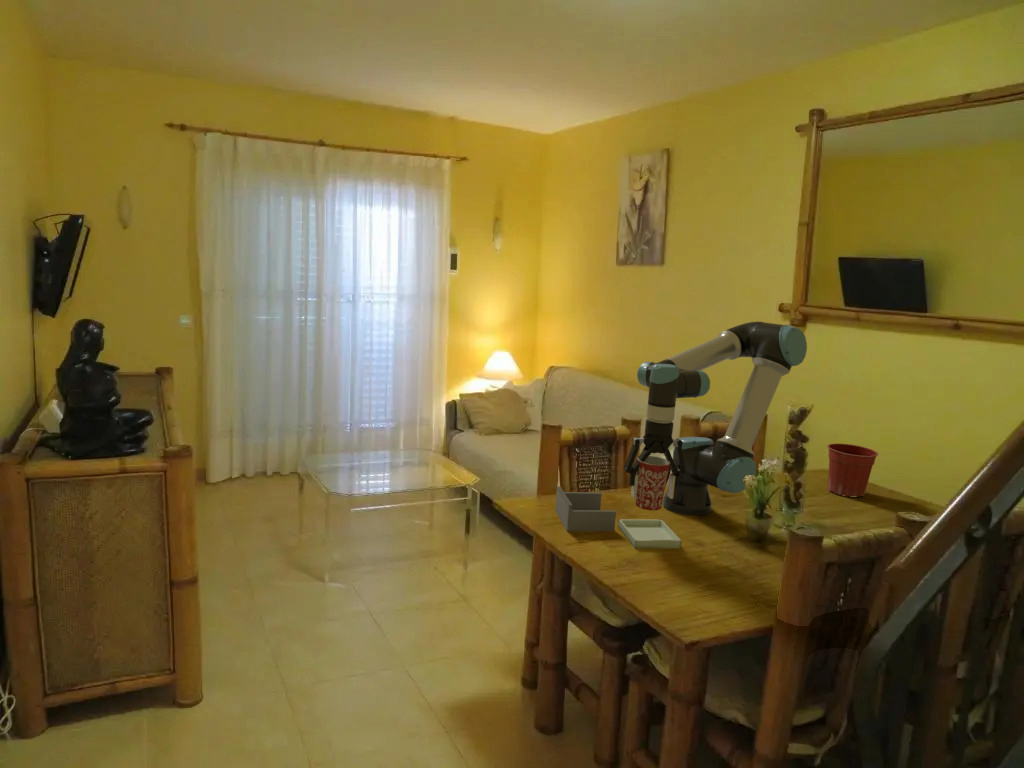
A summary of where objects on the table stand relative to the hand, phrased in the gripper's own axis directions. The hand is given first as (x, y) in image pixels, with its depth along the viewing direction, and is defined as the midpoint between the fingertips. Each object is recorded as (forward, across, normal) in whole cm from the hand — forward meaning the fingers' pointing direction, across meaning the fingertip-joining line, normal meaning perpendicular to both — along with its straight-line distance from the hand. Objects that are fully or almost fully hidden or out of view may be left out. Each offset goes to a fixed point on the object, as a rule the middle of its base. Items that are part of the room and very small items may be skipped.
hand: (651, 496), depth 206 cm
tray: (+12, 0, 0) cm, 12 cm away
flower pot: (+12, -88, -42) cm, 98 cm away
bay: (+12, +16, -13) cm, 23 cm away
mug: (+3, 0, 0) cm, 3 cm away
